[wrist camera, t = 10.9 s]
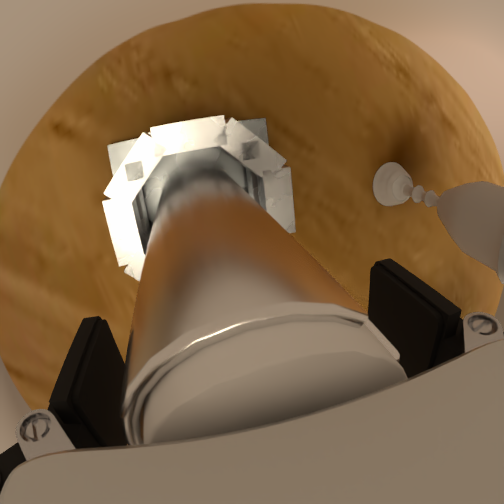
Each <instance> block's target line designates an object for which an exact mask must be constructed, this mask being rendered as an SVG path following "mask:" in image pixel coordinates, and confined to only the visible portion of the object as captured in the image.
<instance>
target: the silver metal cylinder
mask: <svg viewBox="0 0 504 504" xmlns="http://www.w3.org/2000/svg"><path fill="white" fill-rule="evenodd" d="M368 317H369V316H368V313H367V312H366V311H365V310H364V309H363V308H362V307H361V306H360V305H359V304H358V303H357V302H356V301H355V300H354V299H353V298H352V296H351V295H350V294H349V293H348V292H347V291H346V290H345V289H344V288H343V287H342V286H341V285H340V284H339V283H338V282H337V281H336V280H335V279H334V278H333V277H332V276H331V275H330V274H329V273H328V272H327V271H326V270H325V269H324V268H323V267H322V266H321V265H320V264H319V263H318V262H317V261H316V260H315V259H314V258H313V257H312V256H311V255H310V254H309V253H308V252H307V251H306V250H305V249H304V248H303V247H302V246H301V245H300V244H299V243H298V242H297V241H296V240H295V239H294V238H293V237H292V236H291V235H290V234H289V233H288V232H287V231H286V230H285V229H284V228H283V227H282V226H281V225H280V224H279V223H278V222H277V221H276V220H275V219H274V218H273V217H272V216H271V215H270V214H269V213H268V212H267V211H266V210H265V209H264V208H262V207H261V206H260V205H259V204H258V203H257V202H256V201H255V200H254V199H253V198H252V197H251V196H250V195H249V194H248V193H247V192H246V191H245V190H244V189H243V188H242V187H241V186H239V185H238V184H237V183H236V182H235V181H234V180H233V179H232V178H231V177H230V176H229V175H228V174H227V173H226V171H225V170H223V169H222V168H221V167H220V166H218V165H216V164H214V163H212V162H209V161H203V160H195V161H189V162H186V163H184V164H181V165H180V166H178V167H177V168H176V169H174V170H173V171H172V172H171V173H170V175H169V176H168V177H167V179H166V181H165V183H164V186H163V188H162V192H161V196H160V199H159V203H158V207H157V210H156V214H155V218H154V222H153V226H152V230H151V234H150V238H149V242H148V246H147V251H146V255H145V259H144V264H143V268H142V273H141V278H140V282H139V287H138V292H137V297H136V302H135V308H134V313H133V318H132V324H131V330H130V336H129V342H128V348H127V355H126V362H125V369H124V376H123V384H122V392H121V401H120V410H119V413H120V420H121V426H122V432H123V437H124V439H125V441H126V443H127V444H128V445H140V444H151V443H160V442H169V441H178V440H185V439H192V438H199V437H206V436H212V435H217V434H223V433H228V432H234V431H239V430H244V429H248V428H253V427H258V426H262V425H266V424H271V423H275V422H279V421H283V420H287V419H290V418H294V417H298V416H302V415H305V414H309V413H312V412H316V411H319V410H322V409H325V408H329V407H332V406H335V405H338V404H341V403H344V402H347V401H350V400H353V399H356V398H359V397H362V396H364V395H367V394H370V393H373V392H375V391H378V390H381V389H383V388H386V387H388V386H391V385H393V384H396V383H398V382H401V381H403V380H406V379H408V378H407V376H406V373H405V371H404V369H403V367H402V366H401V365H400V354H399V352H398V351H397V350H396V349H395V347H394V346H393V345H392V344H391V343H390V342H389V341H388V340H387V339H386V338H385V336H384V335H383V334H382V333H381V332H380V331H379V330H378V329H377V328H376V327H375V326H374V324H373V323H372V322H371V321H370V320H369V319H368Z"/></svg>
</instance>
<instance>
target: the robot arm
mask: <svg viewBox="0 0 504 504" xmlns="http://www.w3.org/2000/svg"><path fill="white" fill-rule="evenodd" d="M460 314H461V309H459V308H458V307H457V306H455V305H454V304H453V303H452V302H450V301H449V300H448V299H446V298H445V297H444V296H442V295H441V294H440V293H438V292H437V291H435V290H434V289H433V288H431V287H430V286H429V285H427V284H426V283H425V282H423V281H422V280H420V279H419V278H418V277H416V276H415V275H413V274H412V273H411V272H409V271H408V270H406V269H405V268H404V267H402V266H401V265H399V264H398V263H396V262H395V261H393V260H392V259H385V260H381V261H377V262H375V264H374V266H373V267H371V271H370V290H369V306H368V316H369V317H368V319H369V320H370V321H371V322H372V323H373V324H374V326H375V327H376V328H377V329H378V330H379V331H380V332H381V333H382V334H383V335H384V336H385V338H386V339H387V340H388V341H389V342H390V343H391V344H392V345H393V346H394V347H395V349H396V350H397V351H398V352H399V354H400V365H401V366H402V367H403V369H404V371H405V373H406V376H407V378H408V379H406V380H403V381H401V382H398V383H396V384H393V385H391V386H388V387H386V388H383V389H381V390H378V391H375V392H373V393H370V394H367V395H364V396H362V397H359V398H356V399H353V400H350V401H347V402H344V403H341V404H338V405H335V406H332V407H329V408H325V409H322V410H319V411H316V412H312V413H309V414H305V415H302V416H298V417H294V418H290V419H287V420H283V421H279V422H275V423H271V424H266V425H262V426H258V427H253V428H248V429H244V430H239V431H234V432H228V433H223V434H217V435H212V436H206V437H199V438H192V439H185V440H178V441H169V442H160V443H151V444H140V445H127V443H126V441H125V439H124V437H123V432H122V426H121V420H120V413H119V410H120V401H121V392H122V384H123V376H124V369H125V363H124V361H123V359H122V357H121V354H120V352H119V350H118V347H117V345H116V343H115V340H114V338H113V335H112V333H111V330H110V328H109V325H108V323H107V321H106V320H105V319H104V320H102V319H101V318H100V317H99V316H96V317H89V318H84V319H83V320H82V322H81V325H80V327H79V329H78V331H77V333H76V336H75V338H74V340H73V342H72V345H71V347H70V349H69V352H68V354H67V357H66V359H65V361H64V364H63V366H62V369H61V371H60V374H59V376H58V379H57V382H56V384H55V387H54V389H53V392H52V395H51V398H50V400H49V402H50V404H49V407H48V410H45V409H38V410H33V411H31V412H29V413H27V414H26V415H25V416H23V417H22V419H21V420H20V421H19V422H18V425H17V427H16V438H17V440H18V443H16V444H15V445H13V446H12V447H10V448H9V449H7V450H6V451H5V452H3V453H2V454H0V504H504V332H503V330H502V326H501V323H500V322H499V321H498V320H497V318H495V317H494V316H492V315H490V314H487V313H483V312H473V313H470V314H468V315H466V316H465V318H464V320H462V319H461V318H460Z"/></svg>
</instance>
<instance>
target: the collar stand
mask: <svg viewBox="0 0 504 504" xmlns="http://www.w3.org/2000/svg"><path fill="white" fill-rule="evenodd" d="M150 130H151V132H149V133H147V132H143V133H142V135H141V136H140V137H139V138H136V139H132V140H128V141H123V142H119V143H115V144H111V145H107V146H108V152H109V158H110V163H111V168H112V173H113V179H112V180H111V182H110V184H109V185H108V187H107V188H106V190H105V192H104V194H105V195H106V196H107V197H106V198H105V199H104V200H103V201H102V202H103V207H104V211H105V215H106V219H107V223H108V227H109V231H110V235H111V238H112V242H113V246H114V249H115V253H116V257H117V260H118V263H119V266H123V265H126V267H125V270H124V272H125V273H127V274H128V275H130V276H132V277H133V278H135V279H137V280H138V281H140V278H141V273H142V268H143V264H144V259H145V255H146V251H147V246H148V242H149V238H150V234H151V230H152V226H153V222H154V218H155V214H156V210H157V207H158V203H159V199H160V196H161V192H162V188H163V186H164V183H165V181H166V179H167V177H168V176H169V175H170V173H171V172H172V171H173V170H174V169H176V168H177V167H178V166H180V165H181V164H184V163H186V162H189V161H195V160H203V161H209V162H212V163H214V164H216V165H218V166H220V167H221V168H222V169H223V170H225V171H226V173H227V174H228V175H229V176H230V177H231V178H232V179H233V180H234V181H235V182H236V183H237V184H238V185H239V186H241V187H242V188H243V189H244V190H245V191H246V192H247V193H248V194H249V195H250V196H251V197H252V198H253V199H254V200H255V201H256V202H257V203H258V204H259V205H260V206H261V207H262V208H264V209H265V210H266V211H267V212H268V213H269V214H270V215H271V216H272V217H273V218H274V219H275V220H276V221H277V222H278V223H279V224H280V225H281V226H282V227H283V228H284V229H285V230H286V231H287V232H288V233H293V232H296V230H295V216H294V203H293V191H292V180H291V168H290V167H289V166H286V165H284V164H285V162H286V161H287V160H286V159H284V158H283V157H282V156H281V155H280V154H278V153H277V152H276V151H275V150H273V149H272V148H271V147H270V146H269V144H268V135H267V126H266V118H260V119H251V120H242V121H236V120H235V119H234V118H232V117H231V118H227V119H226V120H225V119H224V115H221V116H214V117H207V118H201V119H194V120H188V121H182V122H177V123H171V124H166V125H161V126H156V127H151V128H150Z"/></svg>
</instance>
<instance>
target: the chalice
mask: <svg viewBox="0 0 504 504" xmlns="http://www.w3.org/2000/svg"><path fill="white" fill-rule="evenodd" d="M373 191H374V195H375V197H376V199H377V201H378V202H379V203H380V204H382V205H384V206H393V205H397V204H402V203H404V202H405V201H407V200H408V199H409V198H410V196H411V197H412V199H413V201H414V202H415V203H419V202H421V201H424V202H425V205H426V206H427V207H431V206H437V213H438V216H439V218H440V220H441V221H442V223H443V225H444V226H445V228H446V230H447V231H448V233H449V234H450V236H451V237H452V239H453V240H454V241H455V242H456V244H457V245H458V246H459V248H460V249H461V250H462V251H463V252H464V253H466V254H467V255H469V256H471V257H473V258H474V259H476V260H478V261H479V262H481V263H483V264H485V265H486V266H488V267H490V268H491V269H493V270H495V271H496V273H497V275H498V277H499V279H500V281H501V283H502V284H504V187H501V186H498V185H495V184H492V183H489V182H482V181H481V182H474V183H467V184H463V185H460V186H458V187H455V188H452V189H449V190H447V191H445V192H444V193H443V194H442V195H441V197H439V196H437V195H436V194H435V192H434V191H432V190H430V191H428V192H425V191H424V189H423V187H422V186H420V185H418V186H416V187H413V183H412V179H411V177H410V175H409V174H408V173H407V172H406V171H405V170H404V169H403V167H402V166H401V165H399V164H397V163H396V162H389V163H386V164H384V165H382V166H381V167H380V168H379V169H378V171H377V172H376V174H375V177H374V180H373Z"/></svg>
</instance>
